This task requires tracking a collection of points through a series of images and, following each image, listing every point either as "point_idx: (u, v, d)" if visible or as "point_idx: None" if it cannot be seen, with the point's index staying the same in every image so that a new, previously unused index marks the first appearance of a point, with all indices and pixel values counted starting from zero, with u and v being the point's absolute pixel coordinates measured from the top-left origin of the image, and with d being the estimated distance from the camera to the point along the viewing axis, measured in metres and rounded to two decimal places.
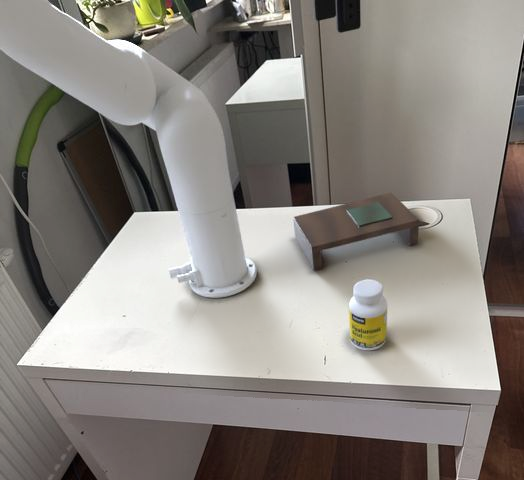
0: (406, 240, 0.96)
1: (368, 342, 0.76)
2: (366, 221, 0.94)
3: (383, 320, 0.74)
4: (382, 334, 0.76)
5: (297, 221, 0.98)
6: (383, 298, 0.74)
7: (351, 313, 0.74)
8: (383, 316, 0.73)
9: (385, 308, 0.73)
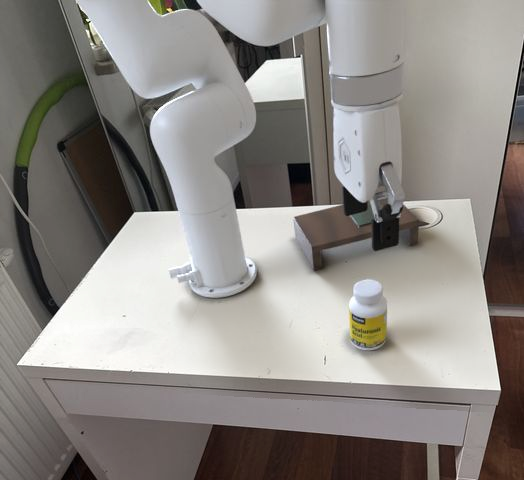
0: (406, 240, 0.96)
1: (368, 342, 0.76)
2: (366, 221, 0.94)
3: (383, 320, 0.74)
4: (382, 334, 0.76)
5: (297, 221, 0.98)
6: (383, 298, 0.74)
7: (351, 313, 0.74)
8: (383, 316, 0.73)
9: (385, 308, 0.73)
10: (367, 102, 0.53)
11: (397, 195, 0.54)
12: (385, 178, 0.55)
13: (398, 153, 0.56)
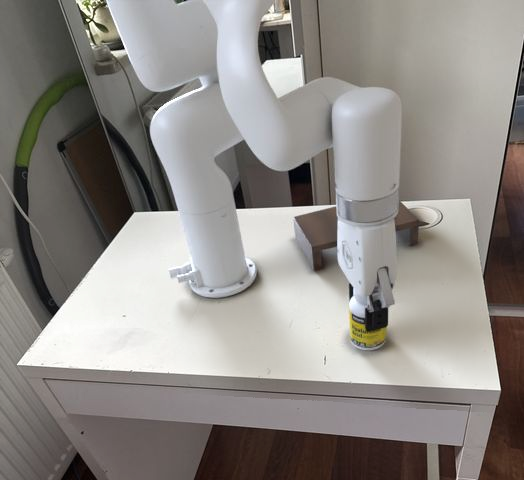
0: (406, 240, 0.96)
1: (368, 342, 0.76)
2: None
3: None
4: (382, 334, 0.76)
5: (297, 221, 0.98)
6: None
7: (351, 313, 0.74)
8: None
9: None
10: (367, 220, 0.61)
11: (388, 304, 0.65)
12: (380, 285, 0.65)
13: (393, 259, 0.64)
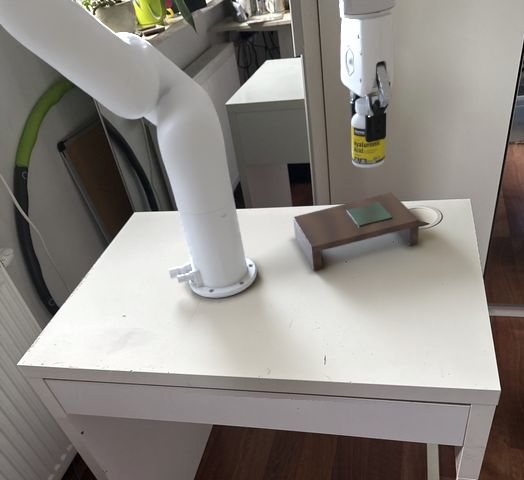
0: (406, 240, 0.96)
1: (368, 158, 0.84)
2: (366, 221, 0.94)
3: None
4: (381, 150, 0.83)
5: (297, 221, 0.98)
6: None
7: (353, 127, 0.82)
8: None
9: None
10: (367, 11, 0.69)
11: (385, 96, 0.73)
12: (379, 80, 0.73)
13: (390, 54, 0.72)
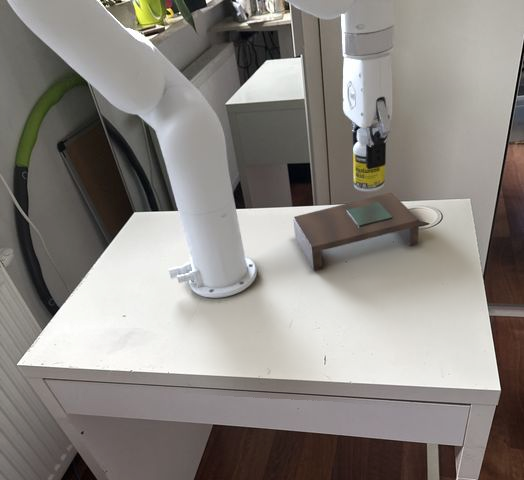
0: (406, 240, 0.96)
1: (369, 182, 0.90)
2: (366, 221, 0.94)
3: None
4: (381, 175, 0.90)
5: (297, 221, 0.98)
6: None
7: (355, 155, 0.88)
8: None
9: None
10: (368, 52, 0.75)
11: (385, 129, 0.79)
12: (379, 114, 0.79)
13: (389, 91, 0.78)
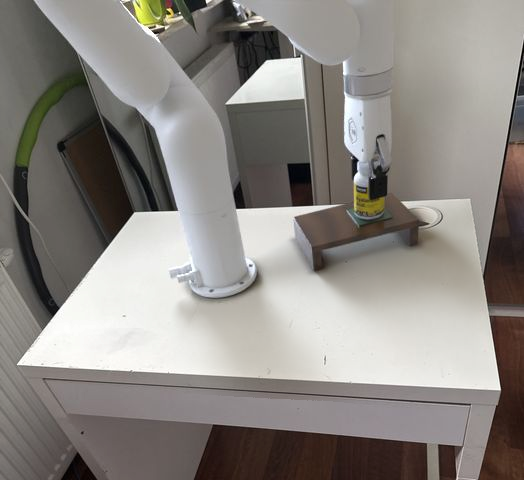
0: (406, 240, 0.96)
1: (369, 211, 0.93)
2: (366, 221, 0.94)
3: None
4: (381, 204, 0.93)
5: (297, 221, 0.98)
6: None
7: (355, 185, 0.92)
8: None
9: None
10: (368, 93, 0.79)
11: (386, 161, 0.82)
12: (379, 148, 0.82)
13: (389, 128, 0.82)
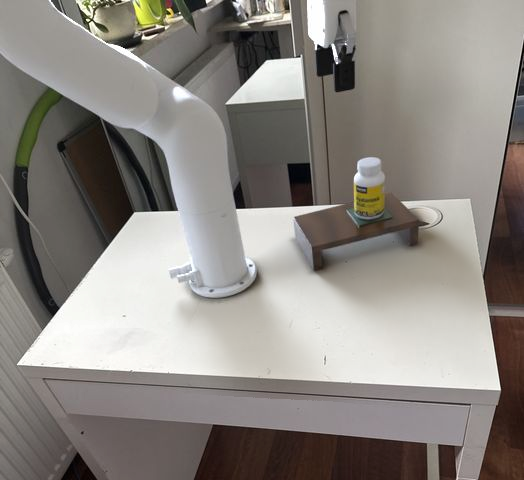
0: (406, 240, 0.96)
1: (369, 211, 0.93)
2: (366, 221, 0.94)
3: (381, 190, 0.91)
4: (381, 204, 0.93)
5: (297, 221, 0.98)
6: (381, 172, 0.91)
7: (355, 185, 0.92)
8: (382, 186, 0.91)
9: (383, 179, 0.90)
10: None
11: (349, 33, 0.72)
12: (342, 22, 0.73)
13: (353, 4, 0.73)
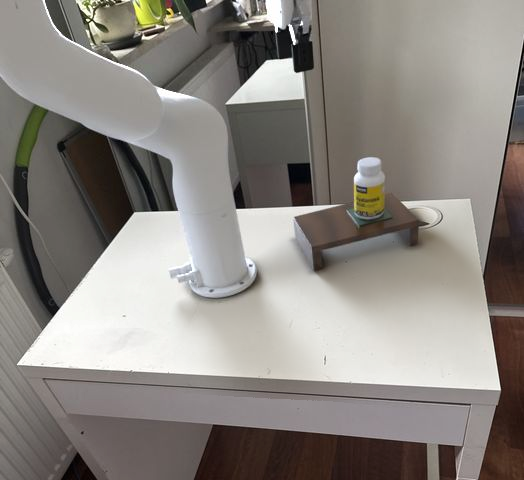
0: (406, 240, 0.96)
1: (369, 211, 0.93)
2: (366, 221, 0.94)
3: (381, 190, 0.91)
4: (381, 204, 0.93)
5: (297, 221, 0.98)
6: (381, 172, 0.91)
7: (355, 185, 0.92)
8: (382, 186, 0.91)
9: (383, 179, 0.90)
10: None
11: (304, 13, 0.74)
12: (297, 2, 0.75)
13: None
